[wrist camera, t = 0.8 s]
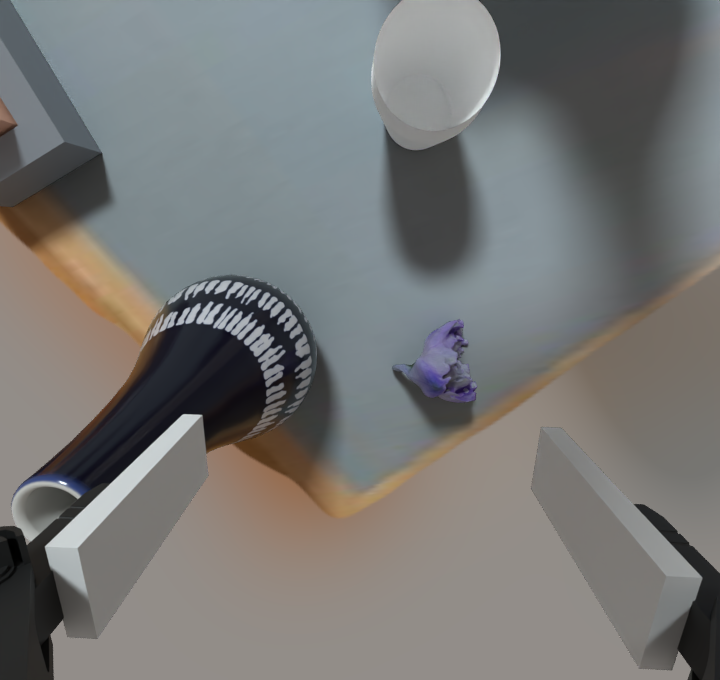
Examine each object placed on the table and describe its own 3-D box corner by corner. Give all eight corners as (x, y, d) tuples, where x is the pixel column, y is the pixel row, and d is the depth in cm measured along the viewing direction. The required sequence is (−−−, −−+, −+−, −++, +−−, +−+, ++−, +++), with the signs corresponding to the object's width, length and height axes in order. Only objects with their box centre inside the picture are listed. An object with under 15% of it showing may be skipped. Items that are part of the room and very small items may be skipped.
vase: (198, 403, 47) (-66, 658, 19) (177, 271, 43) (-202, 343, 15) (328, 400, 47) (258, 661, 18) (320, 266, 42) (212, 331, 14)
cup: (467, 154, 39) (507, 121, 27) (378, 170, 40) (380, 144, 28) (459, 52, 37) (498, -32, 25) (365, 71, 37) (361, -3, 26)
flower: (392, 431, 40) (479, 404, 34) (364, 354, 42) (442, 315, 36) (433, 412, 47) (510, 387, 42) (407, 347, 49) (478, 314, 43)
